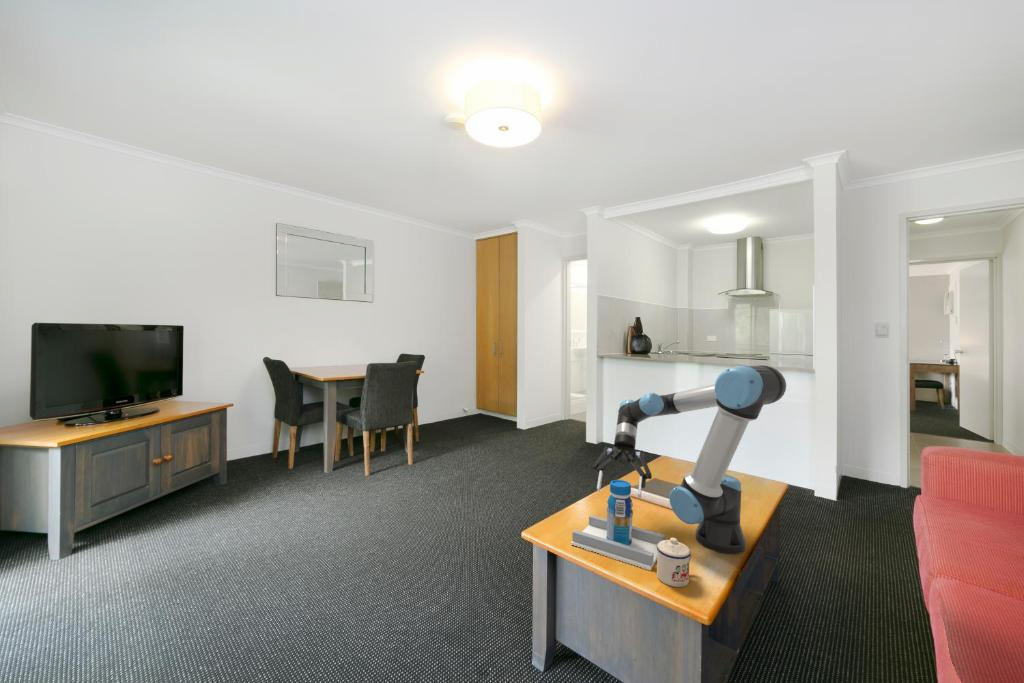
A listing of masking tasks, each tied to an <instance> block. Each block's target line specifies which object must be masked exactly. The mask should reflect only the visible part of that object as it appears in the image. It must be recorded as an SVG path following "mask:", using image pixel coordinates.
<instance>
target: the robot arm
mask: <svg viewBox="0 0 1024 683" xmlns="http://www.w3.org/2000/svg"><path fill="white" fill-rule="evenodd" d="M786 391H787V382H786V379H785V377H784V376H783V374H782V372H780V371H779V370H778V369H777V368H776V367H775V368H774V367H772V366H769V365H765V364H764V365H750V366H749V365H748V366H747V365H737V366H734V367H733V366H732V367H729V368H727V369H725V370H723V371H722V372H721V373H720V374H719V375H718V376H717V378H716V380H715V383H713V384H709V385H705V386H704V385H703V386H700V387H696V388H691V389H686V390H682V391H679V392H673V393H668V394H663V395H661V394H660V395H659V394H658V393H655V392H649V393H647V394H644V395H643V396H641V397H640V398H638V399H636V400H633V399H627V400H626V399H625V400H623V401H621V402H620V404H619V407H618V410H617V411H618V412H617V413H618V414H617V421H616V430H615V438H614V442H613V447H612V448H611V447H608V445H604V448H603V451H602V452H601V454H600V455H599V456H598V457H597V459H596V460H595V461H594V462H593V464H592V465H591V468H592V470H593V472H595V481H596V482H597V484H596V490H597V492H601V487H602V481H603V476H604V475H603V472H604V471H605V470H606V469H607V468H609V467H610V466H611V465H612V464H614V463H616V462H618V463H624V464H628V463H629V464H630V465H631V466H632V467H633V468H634V470H636V472H637V474H638V475H639V478H638V479H639V480H638V491H637V496H638V499H641V498H642V489H646V485H647V484H646V483H647V480H648V479H649V480H651V479H653V478H652V472H651V470H650V467H649V464H647V461H646V458H645V455H644V451H643V450H639V451H636V442H637V441H636V440H637V433H638V424H639V423H640V422H642V421H645V420H647V419H649V418H653V417H660V416H662V417H663V416H669V415H679V414H681V413H686V412H692V411H699V410H703V409H710V408H714V407H717V408H718V409H717V412H716V414H715V417H714V419H713V421H712V424H711V425H710V428H709V431H708V433H707V436H706V438H705V441H704V442H703V445H702V448H701V449H700V452H699V454H698V457H697V459H696V461H695V464H694V466H693V468H692V471H691V470H690V471H688V472H686V473H685V474H684V476H683V480H682V481H681V484H680V485H678V486H675V487H673V488H672V490H670V492H669V497H668V498H669V500H668V501H669V504H670V506H671V509H672V512H673V513H674V514H675V516H676V517H677V519H679V520H680V521H681V522H682V523H685V524H687V525H696V524H697V527H696V529H695V540H696V541H697V543H699V544H700V545H701V546H703V547H704V548H706V549H709V550H711V551H714V552H719V553H723V554H727V555H729V554H732V555H735V554H740V552H741V553H743V552H744V551H745V550H746V538H745V535H744V532H743V529H742V525H741V506H742V505H741V504H742V483H741V481H740V480H739V479H738V478H737V477H735V476H731V475H728V474H726V473H727V471H728V468H729V466H730V464H731V462H732V459H733V457H734V456H735V453H736V452H737V449H738V446H739V445H740V442H741V440H742V438H743V436H744V434H745V432H746V429H747V427H748V425H749V423H750V422H751V421H756V420H757V419H758V418H759V416H760V414H761V410H762V409H763V408H764V407H763V406H764V405H770V404H771V405H772V404H773V403H776V402H778V401H780V399H782V397H783V396H784V395H785V392H786ZM610 454H612V455H610ZM608 455H610V456H609V457H608ZM636 456H637V458H638V459H640V463H641V465H642V467H643V469H644V470H643V469H642V468H641V466H640V465H639V464H638V462H637V461H636V460H635V457H636ZM607 457H608V459H606V458H607Z"/></svg>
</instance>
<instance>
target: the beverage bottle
mask: <svg viewBox="0 0 1024 683" xmlns="http://www.w3.org/2000/svg"><path fill="white" fill-rule="evenodd" d="M631 491H632V485H631V483H630V482H629V481H626V480H623V479H614V480H611V481H610V483H609V492H610V495H609V496H608V498H607V500H606V503H607V507H606V519H607V539H608V540H611V541H614V542H618V543H621V544H624V545H628V546H630V545H631V544H632V526H633V517H634V510H633V506H634V504H633V500H632V498H631V496H630V495H631V493H632V492H631Z"/></svg>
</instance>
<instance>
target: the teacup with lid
mask: <svg viewBox="0 0 1024 683" xmlns="http://www.w3.org/2000/svg"><path fill="white" fill-rule="evenodd" d="M657 550H658V552H657V561H656V562H657V563H656V576H657V579H658V580H659V581H660V582H662V583H663V584H665V585H666V586H671V587H675V588H681V587H682V588H683V587H686V586H687V585H688V584H689V580H690V563H691V561H692V552H691V550H690V548H689V547H688V546H687V545H686V544H684V543H682V542H679V541H678V539H677V538H675V537H670V539H665V540H663V541H660V542H659V543H658V545H657Z"/></svg>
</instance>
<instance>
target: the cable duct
mask: <svg viewBox="0 0 1024 683" xmlns="http://www.w3.org/2000/svg"><path fill="white" fill-rule="evenodd" d="M665 538H666V537H665V534H663V533H660V532H656V531H653V530H649V529H645V528H641V527H638V526H633V525H632V544H631V545H630V546H628V545H624V544H621V543H618V542H614V541H611V540H608V539H607V518H604V517H600V516H598V515H597V516H596V515H593V514H590V515H589V516H588V525H587V526H586V527H585V528H584V529H583V530H582V531H581V530H578V529H574V530H573V531H572V540H571V542H570V545H571V544H572V545H575V546H578V547H581V548H580V549H582V548H584V549H583V550H585V549H586V550H585V551H588V550H589V551H588V552H591V551H593V552H592V553H594V552H596V553H595V554H597V553H599V554H598V555H600V554H602V555H601V556H603V555H604V556H603V557H606V556H607V557H606V558H609V557H610V558H609V559H612V558H613V560H615V559H617V560H616V561H619V560H620V561H619V562H622V561H623V563H625V562H626V563H625V564H628V563H629V564H628V565H631V564H632V565H631V566H634V565H635V567H637V566H638V568H640V567H641V568H640V569H644V570H647V571H649V570H650V572H651V571H652V569H653V567H654V566H655V564H656V562H657V552H658V550H657V545H658V543H659V542H660V541H663V540H666V539H665ZM572 545H571V546H572ZM575 546H574V547H575ZM578 547H577V548H578Z"/></svg>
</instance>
